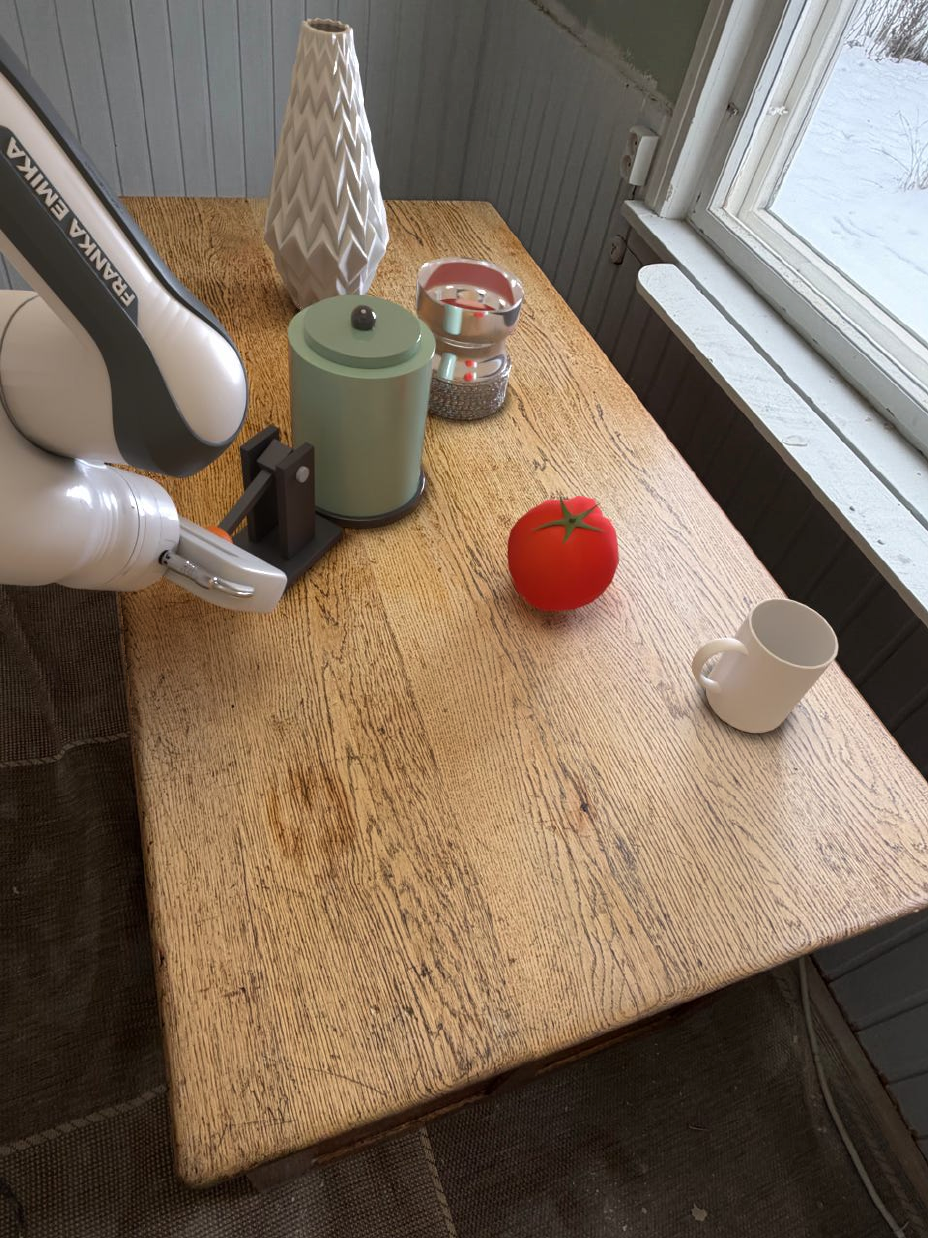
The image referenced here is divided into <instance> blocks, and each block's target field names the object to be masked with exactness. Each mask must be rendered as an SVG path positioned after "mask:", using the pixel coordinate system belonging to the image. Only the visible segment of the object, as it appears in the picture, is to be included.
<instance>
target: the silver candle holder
mask: <svg viewBox="0 0 928 1238" xmlns="http://www.w3.org/2000/svg"><path fill="white" fill-rule="evenodd" d="M415 287H416V288H415V295H414V307H415V313H416V316H417V317H418V318H419V319H421V320H422V321H423V322H424V323H425V324H426V325H427V326H428V327H429V329H430V330H431V332H432V333H433V335H434V338H435V344H436V347H435V355H434V364H433V372H432V380H431V388H430V397H429V405H428V414H432V415H434V416H436V417H439V418H442V419H446V420H454V421H475V420H481V419H485V418H487V417H489V416H492V415H494V414H495V413H496V412H497V411H499V410H500V409H501V408H502V406H503V404H504V401H505V396H506V392H507V388H508V382H509V377H510V372H511V367H512V359H511V356H510V354H509V352H508V350H507V346H506V342H507V339H508V338H509V337H510V336H511V334H513V332H514V331H515V330H516V328H517V326H518V324H519V321H520V317H521V312H522V308H523V303H524V299H525V288H524V285H523V283H522V281H521V279H519V277H518V276H516V274H514V273H512V272H511V271H510V270H508V269H506V268H505V267H503V266H501V265H499V264H496V263H494V262H491V261H488V260H484V259H480V258H474V257H466V256H447V257H440V258H436V259H433V260H431V261H429V262H427V263H424V265H422V267H421V268H420V269H419V271H418V272H417V276H416V286H415Z"/></svg>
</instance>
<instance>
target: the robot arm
mask: <svg viewBox="0 0 928 1238" xmlns="http://www.w3.org/2000/svg"><path fill="white" fill-rule="evenodd" d="M0 253H1V254H2V255H3V256H4V257H5V259H6V260H7V262H9V263H10V265H11V266H13V268H14V269H15V270H16V271H17V272H18V273H19V275H20V276H21V277H22V279H24V280H25V281H26V283H27V284H28V285H29V286H30V287H31V288H32V290H33V291H32V290H20V289H19V290H15V289H0V585H8V586H9V585H10V586H21V587H38V586H39V587H40V586H47V585H50V584H53V583H55V584H57V585H60V586H62V587H65V588H71V589H76V590H88V591H89V590H90V591H108V592H123V593H125V592H126V593H128V592H129V593H131V592H137V591H141V590H143V589H147V588H148V587H150V586H151V585H154V584H155V583H156V582H158V581H159V580H160V579H161V578H162V577H163V578H165V579H166V580H168V581H170V582H171V583H173V584H175V585H177V586H179V587H180V588H182V589H184V590H185V591H187V592H189V593H191V594H192V595H194V596H196V597H198V598H199V599H201V600H203V601H205V602H207V603H210V604H212V605H215V606H216V607H217V606H218V607H220V608H223V609H227V610H231V611H237V612H244V613H251V614H259V615H269V614H271V613H273V612H274V610H275V609H276V608H277V607H278V604H279V602H280V600H281V598H282V596H283V594H284V593H285V592H284V589H285V587H286V583H287V577H286V575H285V573H284V572H282V571H281V570H279V569H277V568H276V567H274V566H272V565H270V564H268V563H266V562H265V561H263V560H261V559H259V558H257V557H255V556H254V555H252V554H250V553H248V552H246V551H245V550H243V549H241V548H239V547H237V546H235V545H234V544H232V543H230V542H228V541H226V540H224V539H223V538H221V537H219V536H217V535H215V534H213V533H212V532H210V531H208V530H206V529H204V527H203V526H201V525H199V524H198V523H195V522H194V521H191V520H190V519H189V518H186V517H184V516H182V515H181V514H178V511H177V508H176V505H175V503H174V501H173V499H172V497H171V496H170V494H169V493H168V491H167V490H166V489H165V488H164V487H163V486H162V485H161V484H160V483H158V482H157V481H156V480H154V479H153V478H150V477H148V476H147V475H143V474H140V473H137V472H132V471H129V470H125V469H122V468H119V467H115V466H113V465H108V464H115V465H123V466H129V467H131V468H133V469H136V470H139V471H145V472H148V473H149V472H150V473H153V474H158V475H162V476H165V477H171V478H175V479H187V478H190V477H193V476H195V475H197V474H198V473H200V472H202V471H203V470H204V469H206V468H208V466H210V465H212V464H213V463H214V462H215V461H217V460H218V459H219V458H220V457H221V456H222V455H223V454H224V453H225V452H226V451H227V450H228V449H229V448H230V447H231V446H232V445H233V443H234V442H235V440H236V439H237V437H238V436H239V434H240V433H241V431H242V429H243V427H244V425H245V422H246V420H247V415H248V412H249V403H250V387H249V380H248V379H249V378H248V375H247V370H246V367H245V363H244V361H243V359H242V356H241V354H240V352H239V350H238V348H237V346H236V344H235V343H234V340H233V338H232V337H231V335H230V334H229V332H228V331H227V329H225V327H224V326H223V325H222V323H221V322H220V321H219V320H218V318H217V317H216V316H215V315H214V313H213V312H212V311H211V310H210V309H209V308H208V306H207V305H205V303H204V302H202V301H201V300H200V299H199V298H197V296H196V295H194V293H192V292H191V291H190V290H189V289H188V288H187V287H186V286H185V285H184V284H183V283H182V282H181V281H180V280H179V278H178V277H177V276H176V275H175V274H174V273H173V272H172V271H171V269H170V267H168V265H167V264H166V263H165V261H164V260H163V259H162V257H161V255H160V254H159V253H158V251H157V250H156V249H155V247H154V246H153V245H152V243H151V242H150V240H149V239H148V237H147V236H146V235H145V233H144V232H143V230H142V229H141V227H140V226H139V225H138V223H137V222H136V221H135V219H134V217H133V216H132V215H131V213H130V212H129V210H128V209H127V207H126V206H125V204H123V202H122V200H121V198H119V196H118V195H117V193H116V192H115V191H114V189H113V187H112V186H111V185H110V183H109V182H108V181H107V179H106V177H105V176H104V175H103V173H102V172H101V170H100V169H99V168H98V166H97V165H96V164H95V162H94V160H93V159H92V158H91V156H90V155H89V154H88V152H87V150H86V149H85V148H84V146H83V145H82V144H81V142H80V141H79V139H78V138H77V137H76V135H75V134H74V132H73V131H72V129H71V128H70V126H69V125H68V124H67V122H66V121H65V120H64V118H63V116H62V115H61V114H60V112H59V111H58V110H57V108H56V107H55V105H54V104H53V103H52V100H50V99H49V97H48V96H47V94H46V93H45V92H44V90H43V88H42V87H41V86H40V84H39V83H38V81H37V80H36V79H35V78H34V77H33V74H31V72H30V71H29V70H28V68H27V67H26V66H25V64H24V63H23V61H22V60H21V59H20V57H19V56H18V55H17V54H16V52H15V50H13V48H12V47H11V46H10V44H9V43H8V42H7V40H6V39H5V38H4V37H3V36H2V33H0ZM105 463H106V464H105ZM107 463H108V464H107ZM283 592H284V593H283Z"/></svg>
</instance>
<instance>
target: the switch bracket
mask: <svg viewBox="0 0 928 1238" xmlns="http://www.w3.org/2000/svg"><path fill="white" fill-rule="evenodd" d="M280 433H281V431H280V427H279V426H276V425H274V424H273V423H270V424H269V425H267V426H266V427H265V428H263V429H262V430H261V431H259V432H257V433H256V434H255V435H253V436H252V437H251V438H249V439H248V440H246V441H245V442H244V443H242V444H241V445H239V457H240V468H241V478H242V486H243V493H244V492H245V491H246V489H247V488H248V487H249V486H250V484H251V483H252V482H253V480H254V479H255V478H256V477H257V475H258V474H259V473H260V472H261V469H260V467H259V465H258V463H257V460H258V458H259V457H260V456H261V455H262V453H263V452H264V451H265V449H266V448H267V447H268V446H269V444H270V443H271V442H272V441H273V439H276V440H278V441H280V442H281V434H280ZM275 467H276V481H273V482H272V483H271V485H270V486H269V487H268V489H267V490H266V491H265V492H264V494H263V495H262V496H261V498H260V499H259V500H258V501H257V503H256V504H255V505H254V507H253V508H252V509H251V510H250V512H249V513H248V514H247V516H246V517H245V518H246V526H244V527H243V528H242V529H240V530H239V531H238V532H236V534H234V535H233V536H231V539H232V542H233V544H234V545H235V546H237V547H239V548H241V549H243V550H245V551H246V552H248V553H250V554H252V555H254V556H255V557H257V558H259V559H261V560H263V561H265V562H266V563H268V564H270V565H272V566H274V567H276V568H277V569H279V570H281V571H282V572H284V573H285V575H286V577H287V583H286V587H285V589H284V592H283V594H284V593H285V592H286V591H288V589H289V588H291V586H293V585H294V584H295V582H297V581H298V580H299V579H300V578H301V577H302V576H303V575H304V574H305V573H306V572H307V571H309V570H310V569H311V567H313V566H314V565H315V564H316V563H317V562H318V561H319V560H321V558H322V557H323V556H324V555H325V554H326V553H328V552H329V551H330V550H331V549H332V548H333V547H334V546H336V544H337V543H338V542H340V540H342V538H344V527H340V526H337V525H336V524H334V523H332V522H330V521H328V520H326V519H324V518H322V517H320V516H318V515H317V514H315V451H314V445H312V444H310V443H308V442H305V443H304V444H302V445H301V446H300V447H298V448H297V449H296V450H295V451H293V452H292V453H291V454H289V455H288V456H287V457H286V458H284V459H283V460H282V461H280V462H279V463H278V464H276V466H275Z"/></svg>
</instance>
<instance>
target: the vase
mask: <svg viewBox="0 0 928 1238" xmlns="http://www.w3.org/2000/svg"><path fill="white" fill-rule="evenodd" d="M300 29H301V30H300V34H299V36H298V42H297V46H296V52H295V61H294V63H293V66H292V70H291V77H290V86H289V96H288V99H287V104H286V108H285V112H284V116H283V120H282V127H281V130H280V134H279V141H278V144H277V145H278V146H277V151H276V155H275V157H274V163H273V173H272V177H271V182H270V187H269V191H268V195H267V202H266V210H265V214H264V219H263V227H264V231H263V241H264V242H265V243H266V245H267V246H268V248H269V249H270V251H271V252H272V254H273V260H274V265H275V268H276V270H277V273H278V274H279V276H280V278H281V280H282V283H283V284H284V286H285V288H286V290H287V291H288V294H289V295H290V298H291V300H292V303H293V304H294V306H295V307H296V308H297V309H298V310H299V312H300V311H302V310H303V309H305V308H307V307H309V306H311V305H314V304H315V303H317V302H319V301H321V300H324V299H326V298H330V297H334V296H340V295H367V294H368V293H369V291H370V288H371V286H372V283H373V282H374V279H375V277H376V272H377V269H378V267H379V263H380V262H381V261H382V260H383V258H384V256H385V255H386V251H387V245H388V244H389V241H390V234H389V233H390V232H389V228H388V227H389V226H388V224H387V212H386V207H385V204H384V201H383V197H382V193H381V189H380V171H379V168H378V165H377V161H376V157H375V152H374V148H373V144H372V132H371V128H370V125H369V121H368V118H367V113H366V109H365V105H364V104H365V98H364V95H363V94H364V93H363V86H362V80H361V75H360V69H359V68H360V65H359V61H358V57H357V53H356V49H355V43H354V42H355V41H354V29H353V28H352V27H350V25H349V24H347V23H342V22H341V21H340V20H337V21H336V20H335V21H333V20H332V19H330V18H326V19H325V18H324V19H322V18H319V17H316V18H315V19H313V18H307V19H306V20H302V21H301V28H300ZM294 301H295V302H297V303H298V304H299V305H298V304H297V303H295V302H294ZM300 307H301V308H300ZM302 308H303V309H302Z"/></svg>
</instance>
